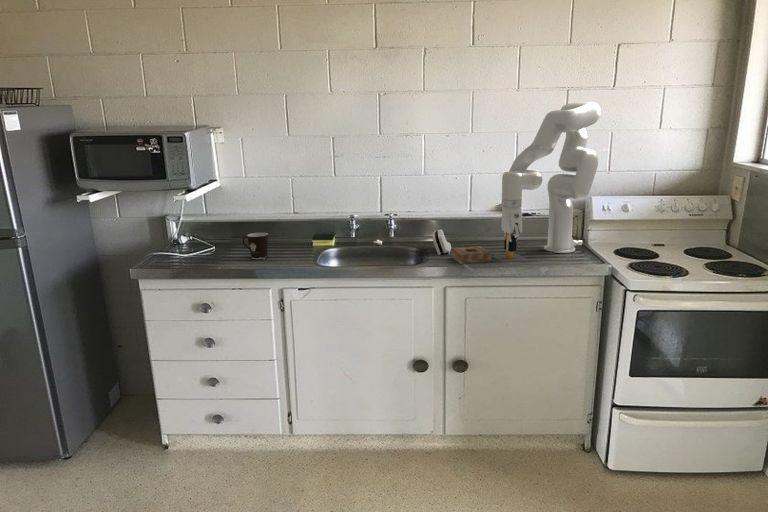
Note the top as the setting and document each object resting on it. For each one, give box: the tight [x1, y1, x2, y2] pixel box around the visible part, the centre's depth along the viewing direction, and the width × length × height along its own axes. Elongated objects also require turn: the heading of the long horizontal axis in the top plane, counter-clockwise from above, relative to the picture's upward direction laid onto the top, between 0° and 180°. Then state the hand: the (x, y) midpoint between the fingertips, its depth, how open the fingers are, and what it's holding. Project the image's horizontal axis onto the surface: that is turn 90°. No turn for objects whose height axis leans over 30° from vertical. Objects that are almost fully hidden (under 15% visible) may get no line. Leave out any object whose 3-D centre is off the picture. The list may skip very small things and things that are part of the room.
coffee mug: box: [242, 232, 269, 258], centre depth 236 cm, size 12×9×10 cm
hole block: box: [451, 246, 493, 266], centre depth 223 cm, size 12×12×4 cm
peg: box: [505, 232, 515, 259], centre depth 223 cm, size 3×3×10 cm
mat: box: [492, 253, 529, 263], centre depth 224 cm, size 11×11×1 cm
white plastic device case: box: [431, 229, 452, 256], centre depth 241 cm, size 17×5×10 cm, turn 172°
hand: (510, 249), depth 223 cm, fingers closed on peg, 3 cm apart
